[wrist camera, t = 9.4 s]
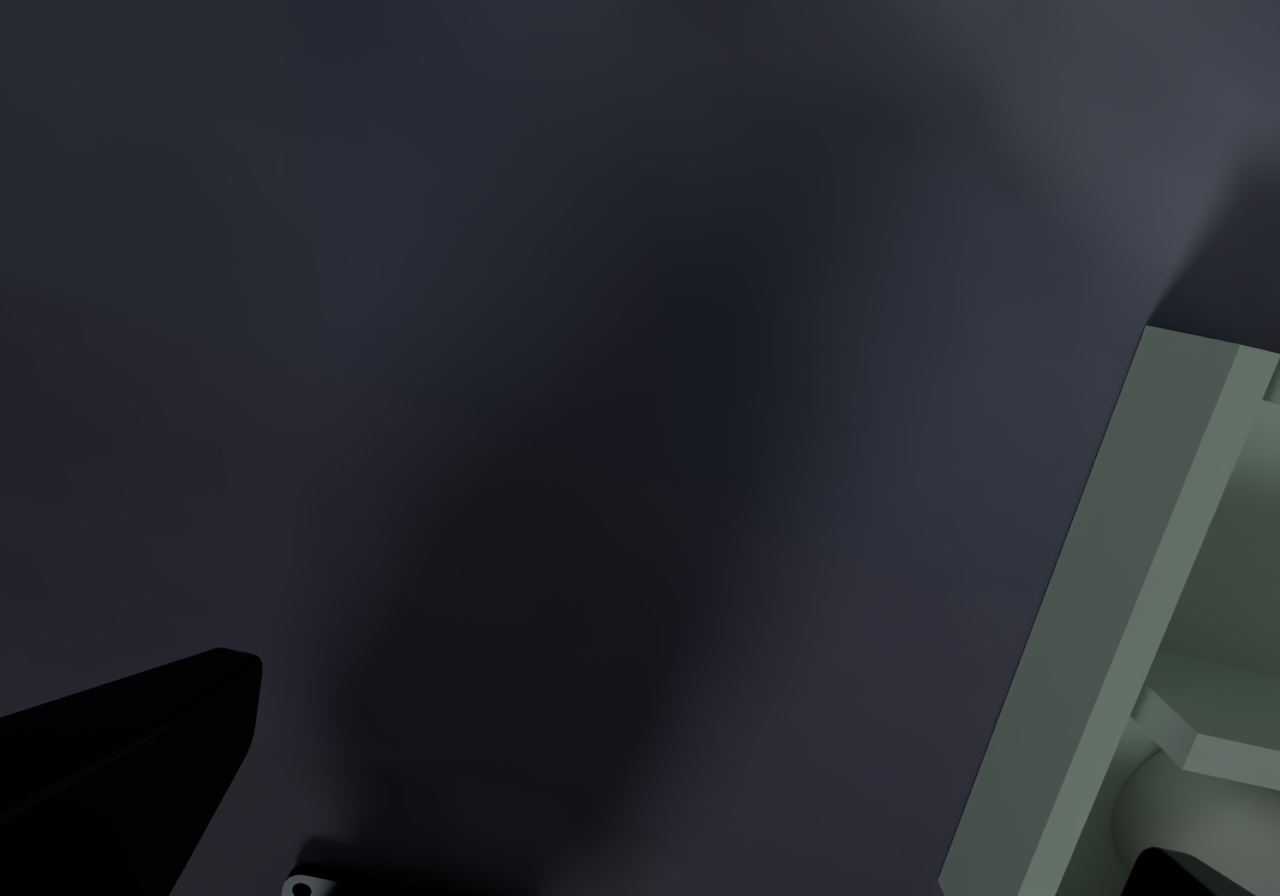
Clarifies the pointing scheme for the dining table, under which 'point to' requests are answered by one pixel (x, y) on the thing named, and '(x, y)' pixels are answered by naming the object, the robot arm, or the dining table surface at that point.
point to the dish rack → (1142, 626)
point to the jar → (1201, 822)
